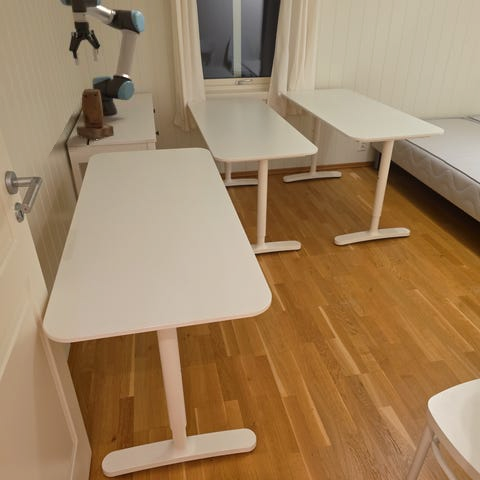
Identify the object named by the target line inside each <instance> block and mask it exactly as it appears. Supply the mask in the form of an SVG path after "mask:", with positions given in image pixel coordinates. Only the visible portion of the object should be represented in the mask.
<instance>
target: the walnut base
mask: <svg viewBox="0 0 480 480" xmlns="http://www.w3.org/2000/svg"><path fill="white" fill-rule="evenodd" d="M75 128H76V135H77V136H78V135H79V136H78V137H81V136H82V137H81V138H84V137H86V138H85V139H87V138H88V140H91V139H92V140H91V141H94V140H95V141H97V140H96V139H98V140H101V139H100V138H102V139H104V137H105V138H107V137H111V136H114V135H115V134H114V126H113V125H110V124H106V123H104V125H103V127H100V128H91V127H85V124H82V125H79V126H76V127H75Z"/></svg>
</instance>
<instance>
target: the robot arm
mask: <svg viewBox="0 0 480 480" xmlns="http://www.w3.org/2000/svg"><path fill="white" fill-rule="evenodd" d="M60 2H61V4H62V5H63V6H67V7H71V10H72V17H73V24H74V29H75V31H71V34H70V35H71V36H70V37H71V38H70V42H69V48H68V50H69V52H71V53H72V57H73V59H74V64H75V66H76V65H77V66H80V65H81V63H80V56H79V52H78V50H79V47H80V45H81V42H82V41H85V40H86V41H88V43H89V44H90V45H91V47H92V54H93V55H92V56H93V61H94V62H99V49H100V47H101V44H100V42H99V40H98V38H97V36H96V34H95V31H94V29H90V22H89V16H91V17H94V18H96V19H98V20H100V22H102V23H103V24H104V25H107V26H108V27H111V28H113V29H115V30H118V31H120V33H121V34H122V35H121V41H120V47H119V52H118V53H119V55H118V59H117V60H118V61H117V65H116V73H114V74H113V76H112V77H111V76H110V75H102V76H101V75H100V76H96V77H93V78H92V89H98V90H100V94H101V101H102V109H103V117H110V116H114V115H117V114H118V109H117V107H116V104H115V102H114V100H121V101H128V100H129V101H130V99H132V97H133V96H134V93H135V85H134V82H133V80H132V78H131V73H132V67H133V60H134V56H135V55H134V53H135V50H136V49H135V48H136V42H137V38H139V37H140V33H143V32H144V31H145V28H146V22H145V18H144V15H143V14H142V12H140V11H138V10H134V9H133V10H129V9H128V10H127V9H115V8H110V7H108V6H107V7H104V6H103V5H101V3H102V0H60ZM88 15H89V16H88Z"/></svg>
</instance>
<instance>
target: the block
mask: <svg viewBox="0 0 480 480" xmlns="http://www.w3.org/2000/svg"><path fill="white" fill-rule="evenodd" d="M81 109H82V118H83V125H85V127H91V128H100V127H103V125H104V124H105V123H104V116H103V109H102V101H101V94H100V90H98V89H93V88H85V89H84V90H83V92H82V95H81Z"/></svg>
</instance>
